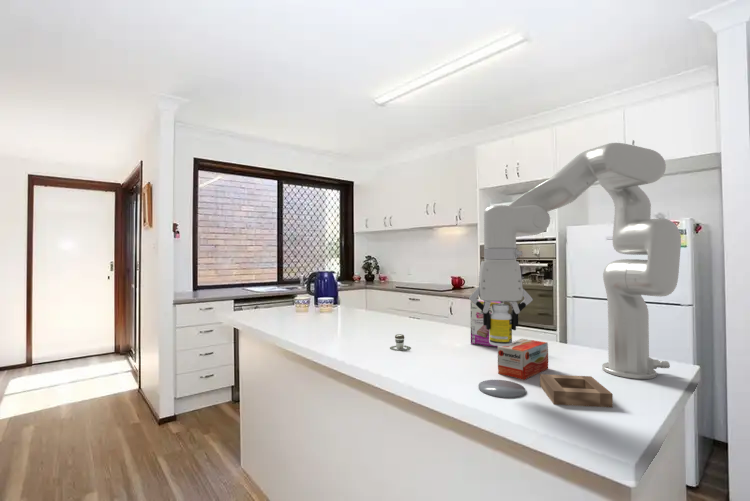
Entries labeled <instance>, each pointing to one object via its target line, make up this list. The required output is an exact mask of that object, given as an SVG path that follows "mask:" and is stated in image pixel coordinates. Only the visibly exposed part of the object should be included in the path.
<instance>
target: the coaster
mask: <svg viewBox="0 0 750 501" xmlns="http://www.w3.org/2000/svg"><path fill="white" fill-rule="evenodd" d="M477 387H478V390H479V391H480V392H482V393H483V394H485V395H489V396H492V397H495V398H504V399H510V398H513V399H515V398H519V397H522V396H524V395H525V394H526V388H525V387H524V386H523V385H522V384H520V383H518V382H515V381H510V380H503V379H487V380H483V381H480V382H479V383H478V386H477Z"/></svg>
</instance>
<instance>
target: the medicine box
mask: <svg viewBox="0 0 750 501" xmlns="http://www.w3.org/2000/svg"><path fill="white" fill-rule="evenodd" d="M548 369H549V344H548V341H547V342H546V341H540V340H533V339H528V338H519V339H517V340H512V345H511V346H498V347H497V370H498V371H497V374H498V375H503V376H505V377H511V378H514V379H518V380H523V381H526V380H527V379H530V378H532V377H534V376H536V375H539V374H541V373H542V372H545V371H546V370H548Z"/></svg>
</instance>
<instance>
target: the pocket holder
mask: <svg viewBox="0 0 750 501" xmlns="http://www.w3.org/2000/svg"><path fill="white" fill-rule="evenodd" d="M539 387H540V388H541V390H543V392H544V394H546V396H547V397H548V399H549V400H550V401H551V402H552V404H553V405H558V406H559V405H560V406H573V407H574V406H575V407H576V406H577V407H591V408H592V407H593V408H594V407H596V408H610V409H611V408H613V407H614V406H613V404H614V403H613V402H614V401H613V399H614V396H613V393H612V392H611V391H610V390H608V389H607V388H606V387H605V386H604V385H603V384H601V383H600V382H599V381H597V380H596V379H595V378H594V377H592V375H572V374H571V375H570V374H569V375H565V374H549V373H547V374H546V373H545V374H543V373H539Z"/></svg>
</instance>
